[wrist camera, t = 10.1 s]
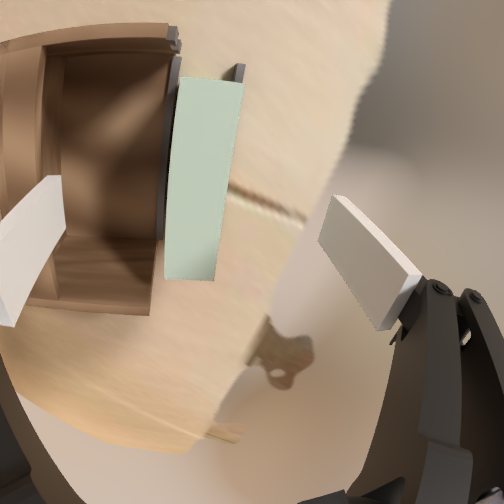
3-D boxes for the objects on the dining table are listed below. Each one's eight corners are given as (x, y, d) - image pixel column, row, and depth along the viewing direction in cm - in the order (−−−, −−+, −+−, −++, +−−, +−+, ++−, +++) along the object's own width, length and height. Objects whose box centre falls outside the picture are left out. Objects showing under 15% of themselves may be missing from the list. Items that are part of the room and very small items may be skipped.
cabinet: (63, 49, 16) (-1, 43, 8) (245, 54, 20) (279, 38, 12) (63, 237, 25) (25, 305, 17) (214, 245, 29) (226, 318, 21)
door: (185, 79, 20) (180, 76, 12) (224, 83, 21) (245, 83, 13) (170, 212, 27) (164, 279, 18) (204, 214, 27) (213, 281, 19)
